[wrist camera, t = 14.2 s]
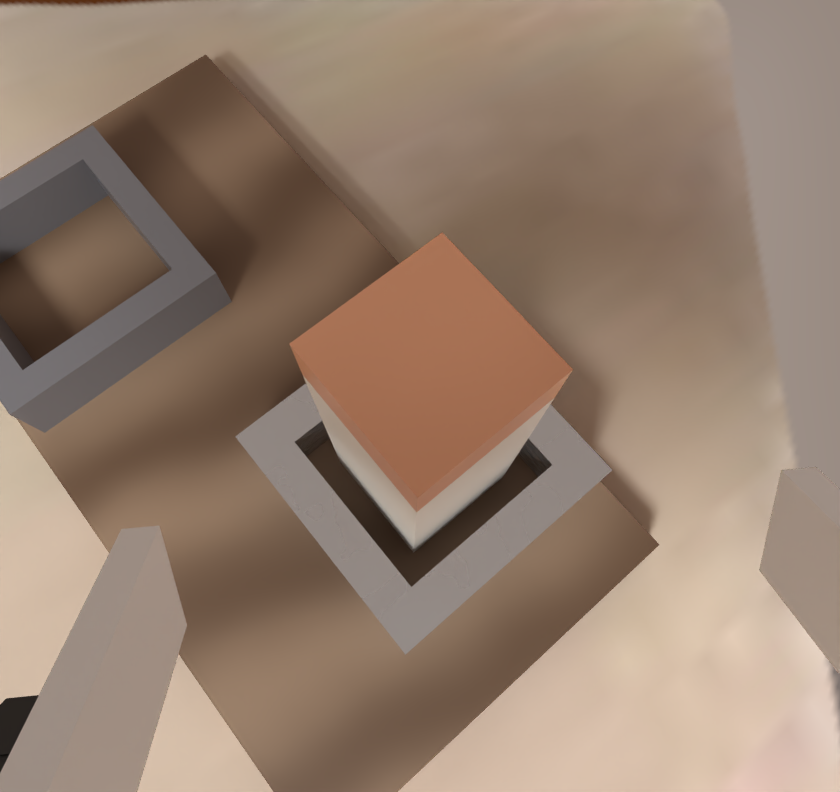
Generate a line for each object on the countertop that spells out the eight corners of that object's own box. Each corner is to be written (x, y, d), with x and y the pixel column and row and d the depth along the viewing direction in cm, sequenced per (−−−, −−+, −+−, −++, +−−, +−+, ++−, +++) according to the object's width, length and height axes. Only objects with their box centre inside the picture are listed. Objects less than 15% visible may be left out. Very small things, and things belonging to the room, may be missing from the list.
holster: (-65, 276, 29) (-107, 245, 27) (116, 162, 31) (92, 124, 29) (44, 432, 27) (9, 414, 25) (231, 301, 29) (215, 272, 26)
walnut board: (-82, 259, 31) (-105, 242, 29) (214, 78, 34) (205, 54, 33) (327, 848, 24) (322, 862, 23) (646, 548, 27) (659, 544, 26)
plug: (339, 461, 27) (289, 343, 15) (428, 392, 28) (442, 232, 16) (413, 552, 26) (417, 497, 14) (502, 477, 27) (573, 369, 15)
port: (250, 453, 27) (235, 436, 24) (435, 311, 29) (438, 283, 26) (405, 651, 25) (405, 654, 22) (594, 483, 27) (612, 470, 24)
